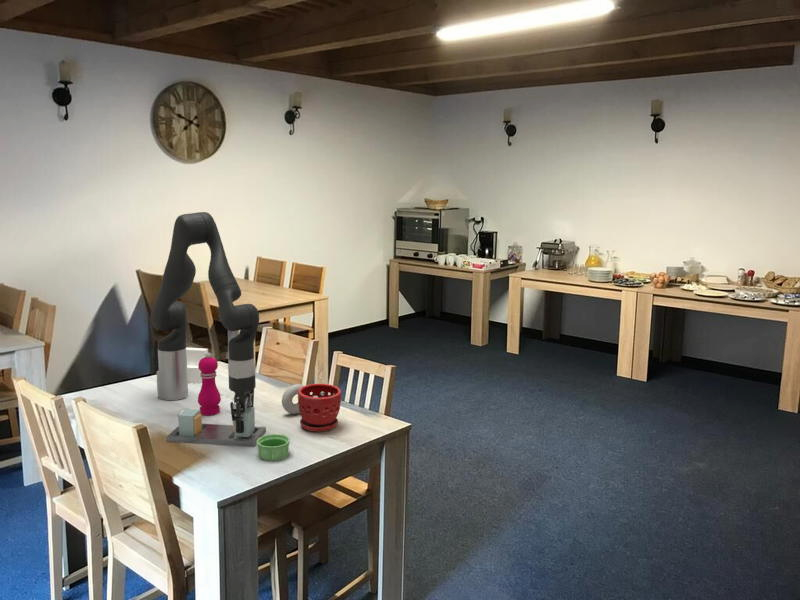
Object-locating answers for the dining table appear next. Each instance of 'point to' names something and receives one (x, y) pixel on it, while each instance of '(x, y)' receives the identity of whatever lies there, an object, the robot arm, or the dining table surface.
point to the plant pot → (319, 407)
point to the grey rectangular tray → (217, 436)
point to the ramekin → (273, 446)
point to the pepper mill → (208, 386)
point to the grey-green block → (246, 423)
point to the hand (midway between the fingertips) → (243, 428)
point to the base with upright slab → (194, 363)
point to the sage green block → (190, 422)
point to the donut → (288, 398)
